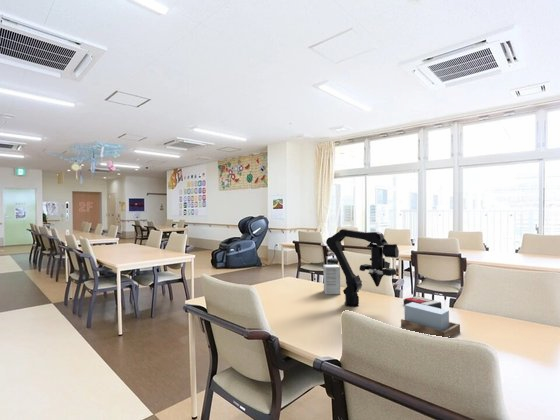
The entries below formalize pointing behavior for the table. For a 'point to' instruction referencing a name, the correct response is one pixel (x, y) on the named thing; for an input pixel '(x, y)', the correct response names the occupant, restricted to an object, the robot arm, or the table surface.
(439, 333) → the frame
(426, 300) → the calculator
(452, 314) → the table surface
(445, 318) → the slate box
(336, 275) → the supplement box
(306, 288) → the table surface
